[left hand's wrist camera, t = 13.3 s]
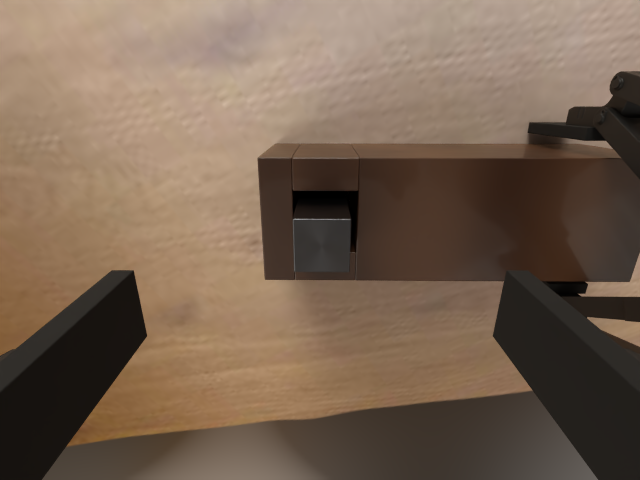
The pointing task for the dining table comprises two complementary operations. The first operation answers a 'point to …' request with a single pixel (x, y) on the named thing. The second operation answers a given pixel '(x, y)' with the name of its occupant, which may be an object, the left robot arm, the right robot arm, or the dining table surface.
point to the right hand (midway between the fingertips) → (532, 194)
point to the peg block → (460, 210)
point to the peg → (321, 232)
